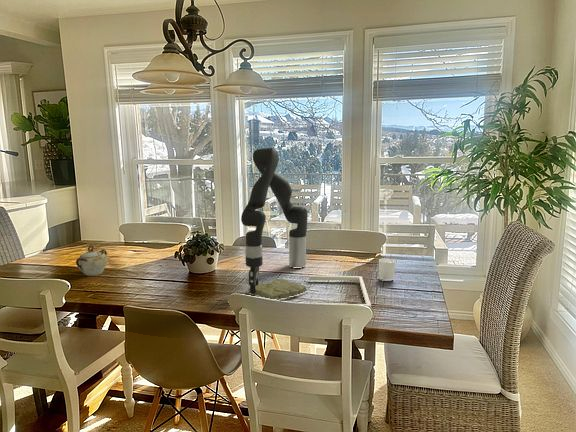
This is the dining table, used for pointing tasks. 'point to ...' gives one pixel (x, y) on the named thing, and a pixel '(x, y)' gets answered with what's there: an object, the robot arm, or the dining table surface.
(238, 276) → the dining table surface
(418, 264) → the dining table surface
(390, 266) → the white cup
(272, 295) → the decorative tile
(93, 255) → the sugar bowl
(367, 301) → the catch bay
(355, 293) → the dining table surface
